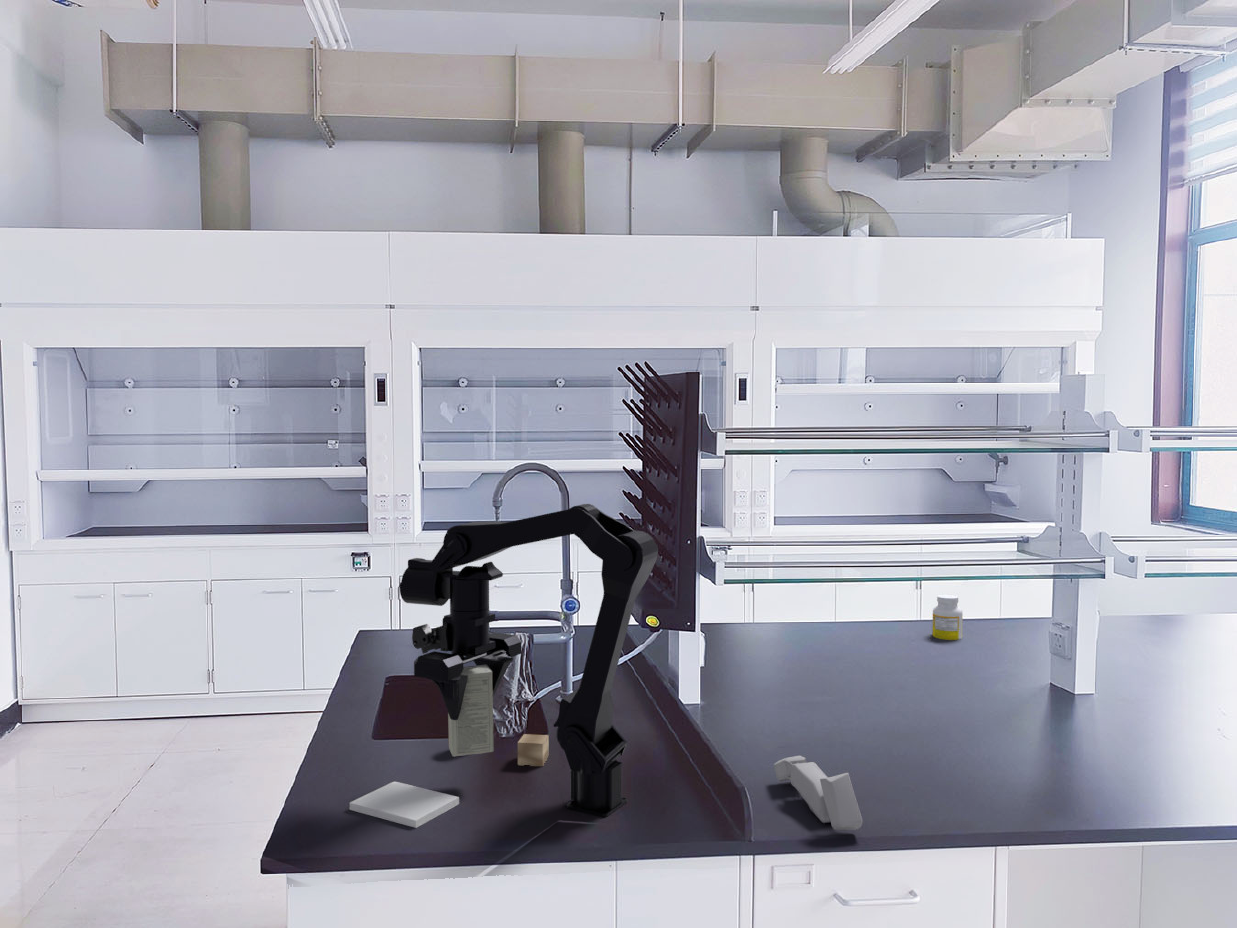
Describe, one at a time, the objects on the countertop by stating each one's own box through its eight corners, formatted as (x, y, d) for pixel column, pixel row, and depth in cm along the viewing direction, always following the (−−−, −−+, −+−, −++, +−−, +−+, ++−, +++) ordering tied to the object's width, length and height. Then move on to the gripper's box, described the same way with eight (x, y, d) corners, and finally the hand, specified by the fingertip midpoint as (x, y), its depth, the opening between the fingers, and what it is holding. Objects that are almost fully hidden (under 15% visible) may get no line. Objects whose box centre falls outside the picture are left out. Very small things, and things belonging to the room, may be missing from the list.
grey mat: (459, 804, 135) (459, 797, 135) (416, 827, 127) (416, 820, 127) (394, 787, 141) (394, 781, 140) (349, 809, 133) (349, 802, 133)
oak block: (548, 759, 152) (548, 735, 152) (542, 769, 149) (542, 743, 148) (524, 758, 153) (524, 734, 153) (517, 767, 149) (517, 742, 149)
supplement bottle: (941, 645, 230) (942, 592, 229) (967, 651, 225) (968, 596, 224) (926, 650, 225) (927, 596, 225) (952, 655, 220) (953, 600, 220)
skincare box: (488, 743, 145) (488, 664, 144) (494, 753, 140) (494, 671, 140) (446, 747, 143) (446, 667, 142) (451, 757, 138) (450, 674, 138)
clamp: (864, 833, 124) (864, 781, 124) (838, 837, 123) (838, 784, 123) (796, 784, 144) (795, 739, 144) (773, 786, 143) (772, 741, 143)
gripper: (465, 593, 153) (466, 689, 153) (383, 613, 136) (385, 721, 137) (523, 599, 147) (523, 699, 148) (445, 622, 131) (446, 734, 132)
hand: (470, 712), depth 141 cm, fingers closed on skincare box, 7 cm apart
